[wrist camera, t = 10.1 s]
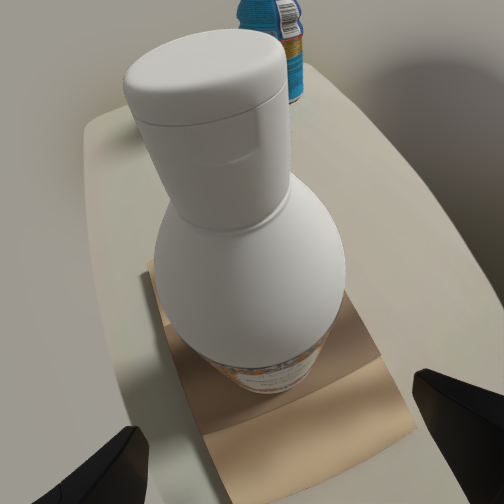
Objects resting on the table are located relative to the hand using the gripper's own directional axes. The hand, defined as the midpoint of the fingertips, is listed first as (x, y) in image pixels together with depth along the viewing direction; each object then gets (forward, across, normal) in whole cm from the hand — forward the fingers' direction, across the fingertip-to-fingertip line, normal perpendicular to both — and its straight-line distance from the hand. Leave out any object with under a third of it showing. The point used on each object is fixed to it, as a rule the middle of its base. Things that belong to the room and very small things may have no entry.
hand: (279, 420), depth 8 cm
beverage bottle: (+38, -8, -19) cm, 44 cm away
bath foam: (+13, 0, +5) cm, 14 cm away
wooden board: (+14, 0, +6) cm, 15 cm away
